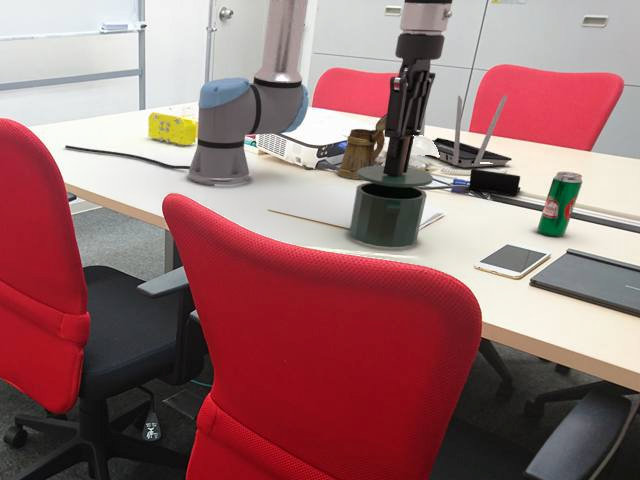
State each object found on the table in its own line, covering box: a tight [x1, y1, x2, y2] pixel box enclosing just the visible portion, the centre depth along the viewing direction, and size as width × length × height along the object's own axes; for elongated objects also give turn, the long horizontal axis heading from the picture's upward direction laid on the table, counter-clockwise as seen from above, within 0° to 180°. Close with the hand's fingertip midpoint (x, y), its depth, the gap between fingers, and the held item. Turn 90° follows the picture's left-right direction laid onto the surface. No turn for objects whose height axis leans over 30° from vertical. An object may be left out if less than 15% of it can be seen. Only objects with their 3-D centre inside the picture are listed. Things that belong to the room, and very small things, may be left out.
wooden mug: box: [337, 113, 387, 180], centre depth 166 cm, size 9×14×18 cm, turn 36°
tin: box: [348, 182, 428, 248], centre depth 126 cm, size 13×18×10 cm
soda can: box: [536, 171, 583, 238], centre depth 130 cm, size 5×5×12 cm
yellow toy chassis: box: [147, 111, 197, 147], centre depth 202 cm, size 16×6×8 cm, turn 43°
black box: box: [468, 168, 521, 197], centre depth 159 cm, size 12×7×10 cm
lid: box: [357, 134, 434, 188], centre depth 121 cm, size 14×14×8 cm
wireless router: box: [418, 94, 513, 168], centre depth 185 cm, size 34×23×20 cm
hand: (395, 172), depth 122 cm, fingers closed on lid, 3 cm apart
